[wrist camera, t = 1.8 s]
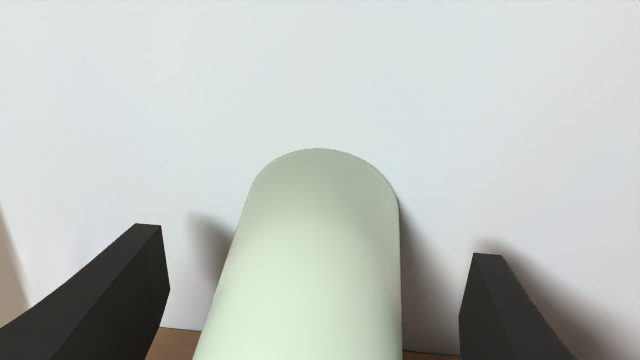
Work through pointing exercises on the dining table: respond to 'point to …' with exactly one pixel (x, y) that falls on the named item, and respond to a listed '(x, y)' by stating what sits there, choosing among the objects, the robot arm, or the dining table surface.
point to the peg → (311, 266)
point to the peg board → (179, 345)
